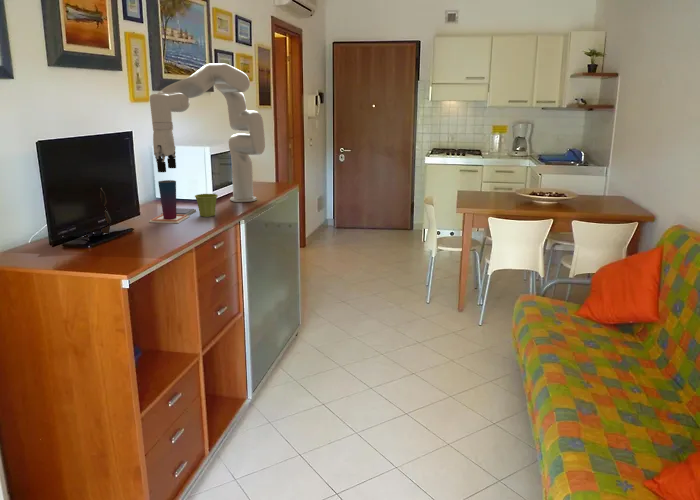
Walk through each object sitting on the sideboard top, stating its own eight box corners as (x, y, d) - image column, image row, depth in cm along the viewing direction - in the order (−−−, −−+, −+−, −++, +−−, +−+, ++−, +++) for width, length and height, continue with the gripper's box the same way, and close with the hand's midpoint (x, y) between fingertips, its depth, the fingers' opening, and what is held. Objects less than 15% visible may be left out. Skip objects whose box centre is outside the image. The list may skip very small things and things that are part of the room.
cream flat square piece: (161, 216, 237) (161, 213, 236) (189, 217, 235) (189, 214, 235) (149, 222, 225) (148, 219, 225) (178, 223, 224) (177, 220, 224)
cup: (181, 216, 233) (178, 180, 229) (175, 219, 227) (172, 182, 223) (165, 216, 234) (162, 180, 230) (158, 219, 227) (155, 182, 223)
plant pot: (196, 213, 242) (194, 193, 239) (218, 213, 244) (217, 193, 242) (195, 218, 233) (194, 197, 231) (219, 217, 235) (218, 196, 233)
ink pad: (172, 210, 248) (171, 207, 247) (196, 211, 247) (196, 208, 246) (161, 215, 237) (161, 212, 237) (186, 216, 236) (186, 213, 236)
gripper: (162, 124, 229) (167, 166, 234) (143, 128, 213) (148, 173, 218) (180, 124, 228) (184, 166, 233) (162, 128, 212) (167, 173, 217)
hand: (167, 170), depth 226 cm, fingers open, 9 cm apart
